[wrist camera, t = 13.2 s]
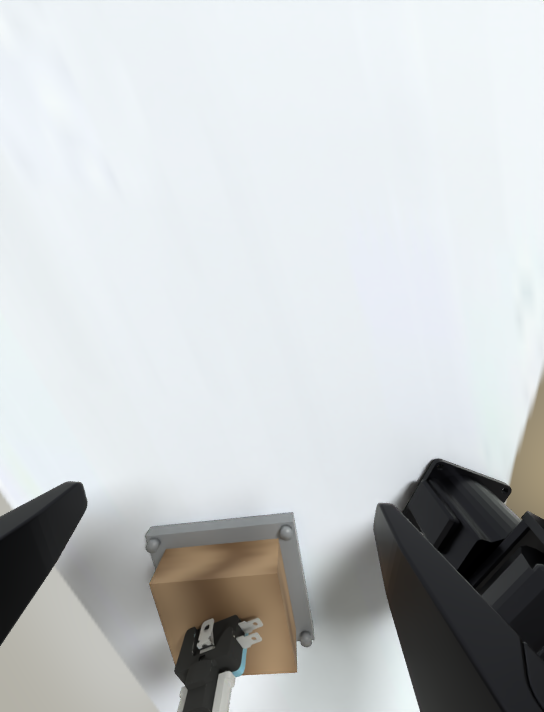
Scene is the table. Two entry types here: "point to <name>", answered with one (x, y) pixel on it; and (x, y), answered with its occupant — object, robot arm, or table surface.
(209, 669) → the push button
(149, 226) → the table surface
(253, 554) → the tan flat square block
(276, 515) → the base plate
